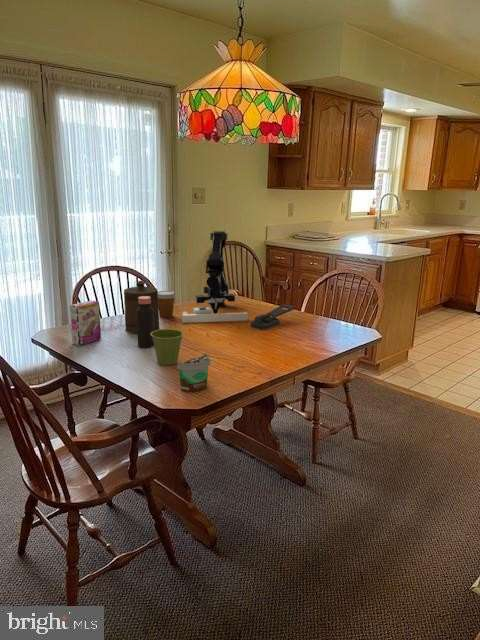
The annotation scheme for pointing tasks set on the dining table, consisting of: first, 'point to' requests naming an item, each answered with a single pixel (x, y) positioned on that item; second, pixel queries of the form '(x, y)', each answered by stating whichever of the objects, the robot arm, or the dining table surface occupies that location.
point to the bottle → (145, 322)
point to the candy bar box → (85, 322)
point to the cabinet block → (202, 310)
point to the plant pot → (167, 345)
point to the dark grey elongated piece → (270, 318)
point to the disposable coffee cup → (166, 303)
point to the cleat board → (214, 317)
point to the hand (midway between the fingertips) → (214, 315)
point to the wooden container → (132, 305)
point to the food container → (194, 374)
